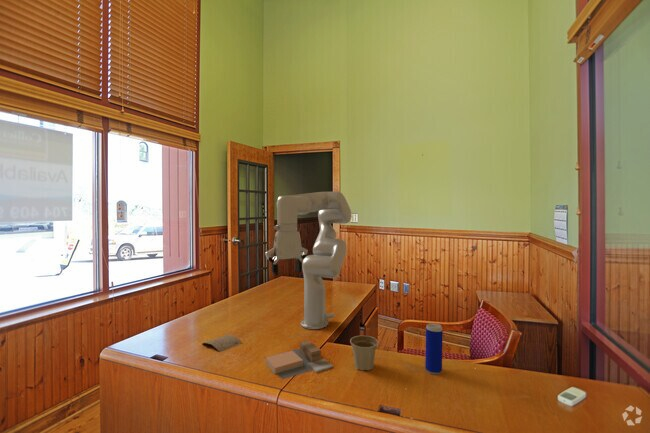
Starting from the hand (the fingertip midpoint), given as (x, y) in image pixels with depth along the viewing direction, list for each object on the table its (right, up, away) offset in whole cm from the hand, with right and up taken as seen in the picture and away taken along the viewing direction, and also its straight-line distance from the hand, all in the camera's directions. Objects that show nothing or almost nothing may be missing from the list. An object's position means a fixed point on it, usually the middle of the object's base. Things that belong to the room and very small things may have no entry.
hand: (287, 273), depth 119 cm
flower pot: (+28, -29, -14) cm, 42 cm away
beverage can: (+50, -29, -16) cm, 60 cm away
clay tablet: (-25, -29, +2) cm, 39 cm away
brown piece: (+11, -28, -11) cm, 32 cm away
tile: (-1, -27, -11) cm, 29 cm away
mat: (+4, -29, -12) cm, 31 cm away
